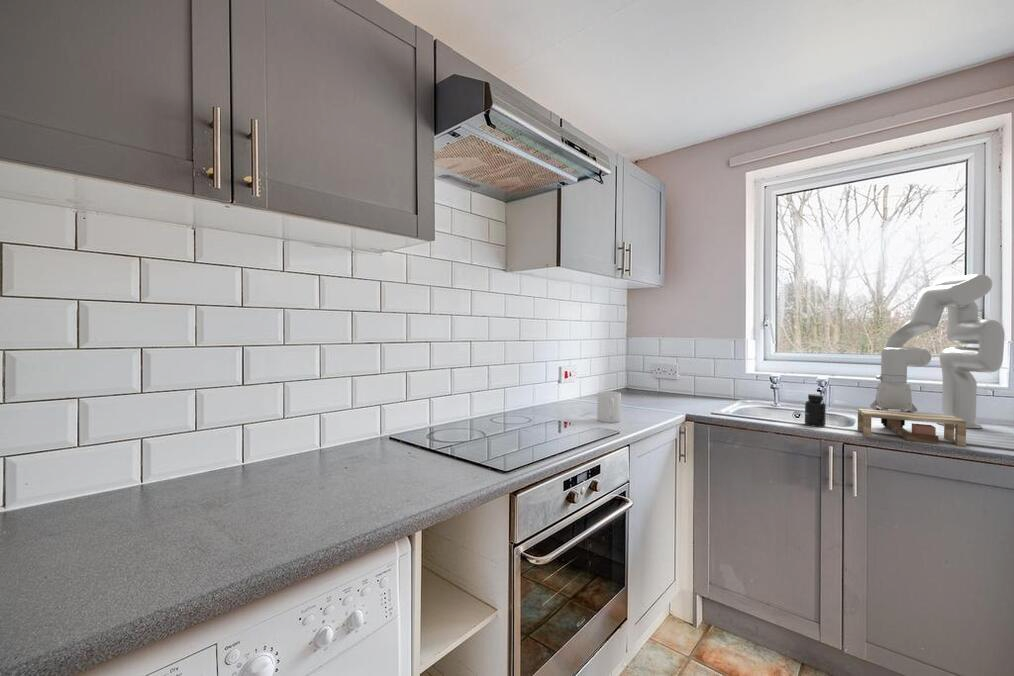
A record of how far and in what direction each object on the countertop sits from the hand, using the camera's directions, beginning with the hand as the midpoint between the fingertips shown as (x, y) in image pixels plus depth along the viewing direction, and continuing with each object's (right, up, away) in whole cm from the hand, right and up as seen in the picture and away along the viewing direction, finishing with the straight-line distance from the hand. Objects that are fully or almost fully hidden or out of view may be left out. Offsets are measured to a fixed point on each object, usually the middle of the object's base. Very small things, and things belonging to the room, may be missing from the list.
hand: (892, 426), depth 168 cm
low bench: (-8, -1, -15) cm, 17 cm away
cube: (-5, -1, -18) cm, 19 cm away
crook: (-3, -1, -11) cm, 11 cm away
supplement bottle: (-26, -1, +6) cm, 27 cm away
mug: (-108, 0, +9) cm, 108 cm away
